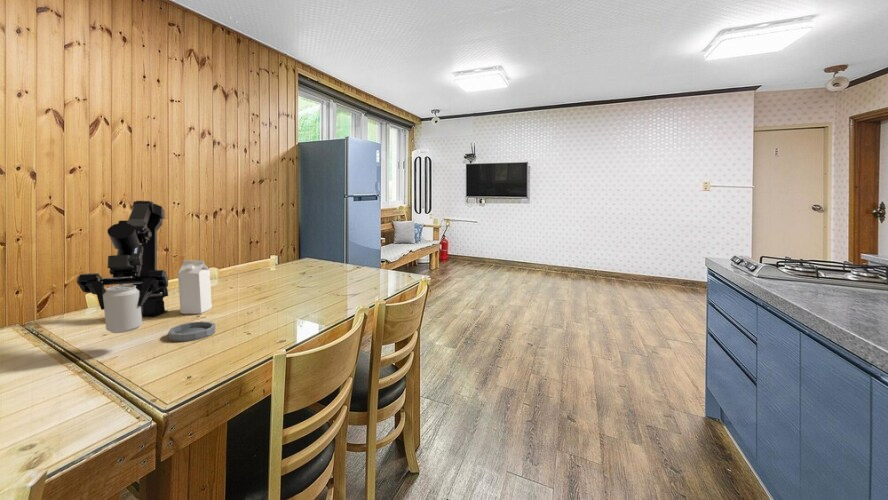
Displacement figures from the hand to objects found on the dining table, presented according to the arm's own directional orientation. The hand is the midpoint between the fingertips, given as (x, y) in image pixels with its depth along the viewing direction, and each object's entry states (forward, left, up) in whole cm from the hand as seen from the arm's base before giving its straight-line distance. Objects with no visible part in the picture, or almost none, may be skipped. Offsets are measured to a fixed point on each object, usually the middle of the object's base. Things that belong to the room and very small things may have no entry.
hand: (121, 307), depth 99 cm
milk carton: (-8, +35, -12) cm, 38 cm away
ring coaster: (+8, +14, -12) cm, 20 cm away
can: (-1, +1, -7) cm, 7 cm away
